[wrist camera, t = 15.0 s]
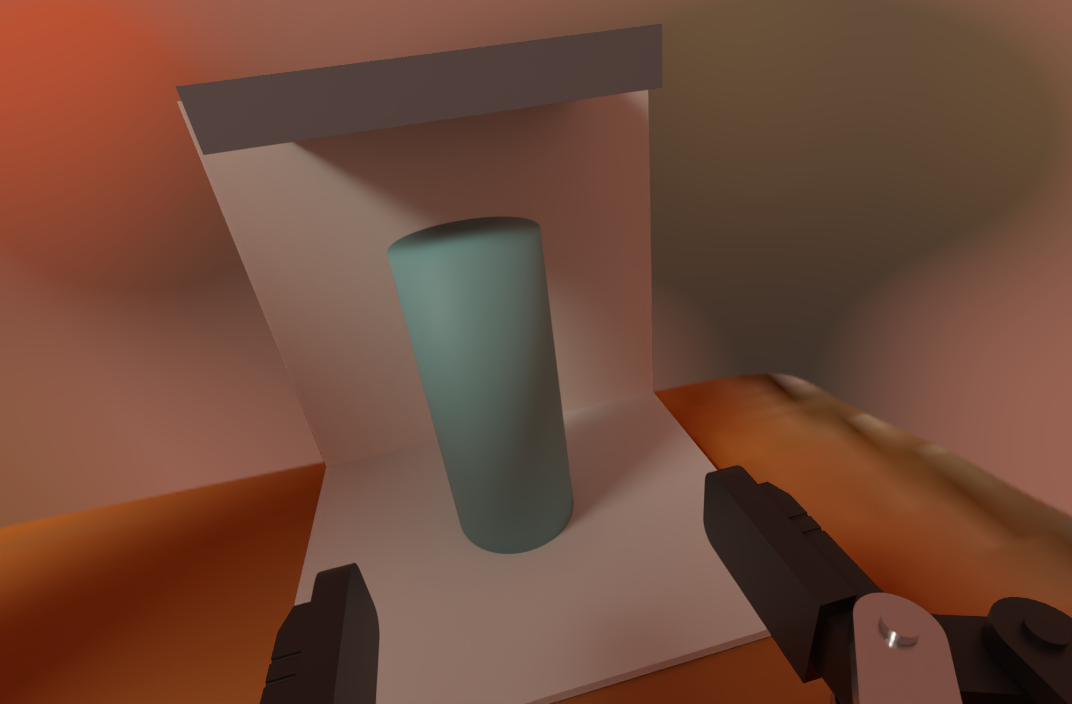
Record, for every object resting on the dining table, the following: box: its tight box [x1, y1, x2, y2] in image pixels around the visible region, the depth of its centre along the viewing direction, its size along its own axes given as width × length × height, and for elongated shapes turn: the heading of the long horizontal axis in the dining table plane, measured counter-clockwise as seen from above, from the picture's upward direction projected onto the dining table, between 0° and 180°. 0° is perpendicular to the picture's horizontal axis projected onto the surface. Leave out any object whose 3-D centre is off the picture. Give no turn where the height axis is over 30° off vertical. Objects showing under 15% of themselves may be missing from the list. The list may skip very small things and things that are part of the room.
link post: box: [387, 217, 574, 554], centre depth 19 cm, size 5×5×12 cm
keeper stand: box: [176, 24, 771, 704], centre depth 18 cm, size 18×16×18 cm
